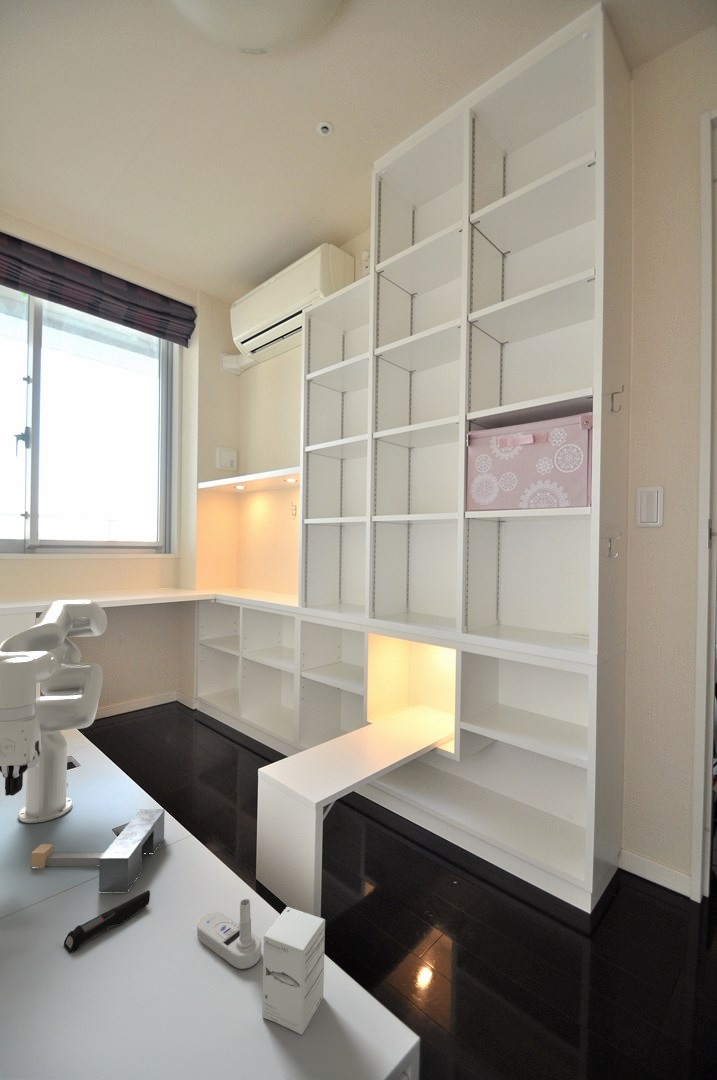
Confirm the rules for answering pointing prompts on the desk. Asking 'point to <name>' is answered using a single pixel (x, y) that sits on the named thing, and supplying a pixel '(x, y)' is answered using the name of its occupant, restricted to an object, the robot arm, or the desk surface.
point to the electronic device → (231, 937)
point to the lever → (62, 857)
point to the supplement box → (293, 969)
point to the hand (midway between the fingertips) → (13, 792)
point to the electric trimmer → (105, 921)
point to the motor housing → (130, 850)
